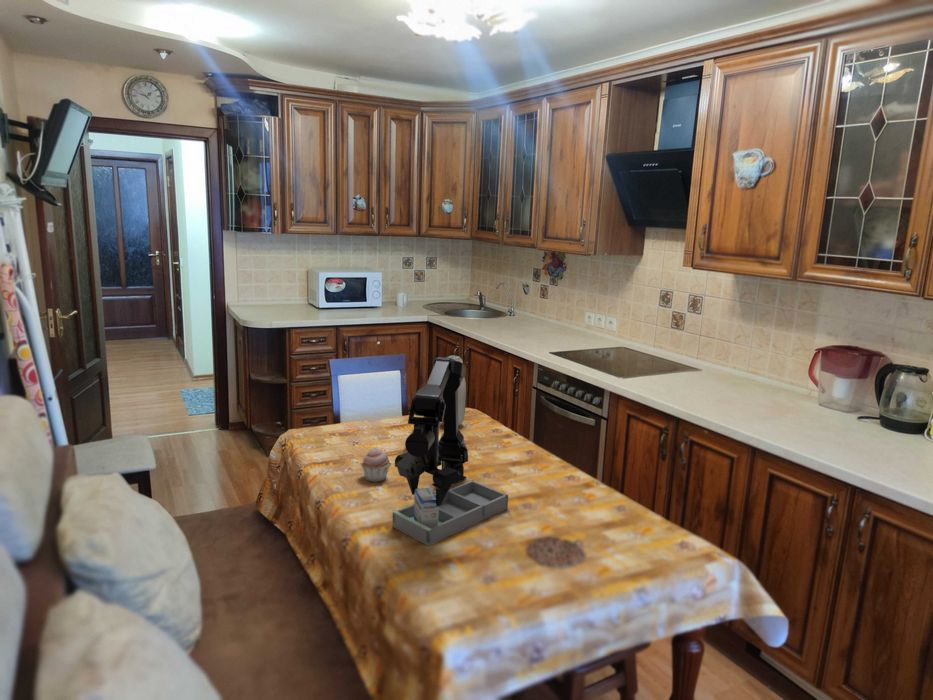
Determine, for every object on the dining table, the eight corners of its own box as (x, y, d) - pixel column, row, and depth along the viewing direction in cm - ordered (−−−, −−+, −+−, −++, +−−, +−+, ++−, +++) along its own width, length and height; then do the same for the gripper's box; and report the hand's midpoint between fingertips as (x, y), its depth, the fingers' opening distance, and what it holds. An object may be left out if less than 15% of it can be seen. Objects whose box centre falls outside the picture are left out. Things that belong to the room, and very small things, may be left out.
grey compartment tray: (392, 526, 163) (392, 511, 163) (472, 492, 185) (472, 479, 184) (428, 546, 154) (428, 530, 153) (507, 508, 176) (508, 494, 175)
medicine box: (413, 519, 165) (413, 488, 164) (429, 516, 167) (430, 486, 165) (421, 533, 158) (422, 501, 156) (438, 530, 160) (439, 499, 158)
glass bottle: (438, 422, 247) (439, 352, 242) (464, 422, 248) (466, 353, 242) (438, 430, 238) (440, 358, 232) (465, 430, 239) (468, 358, 233)
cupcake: (396, 475, 195) (397, 445, 193) (380, 486, 187) (380, 455, 185) (371, 469, 199) (371, 440, 197) (354, 480, 191) (354, 449, 189)
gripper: (378, 439, 158) (378, 497, 161) (429, 460, 146) (427, 522, 149) (411, 430, 166) (410, 485, 169) (462, 449, 154) (460, 508, 157)
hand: (426, 500), depth 161 cm, fingers open, 9 cm apart
